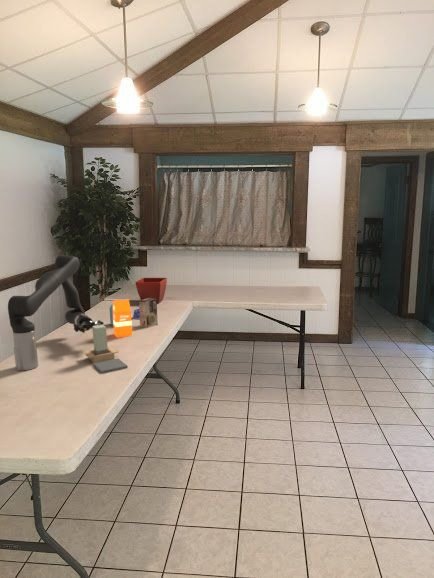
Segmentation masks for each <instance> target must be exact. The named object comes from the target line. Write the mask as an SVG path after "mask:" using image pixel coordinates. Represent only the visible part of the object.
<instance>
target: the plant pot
mask: <svg viewBox="0 0 434 578" xmlns="http://www.w3.org/2000/svg"><path fill="white" fill-rule="evenodd" d="M167 282H168V278H167V277H142V278H140V279H138V280H136V281H135V288H136V290H137V293H138V297H139V300H142V299H147V298H154V299H156V301H157V304H160V303H161V302H162V301H164V297H165V295H166V289H167V284H168V283H167Z"/></svg>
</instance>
